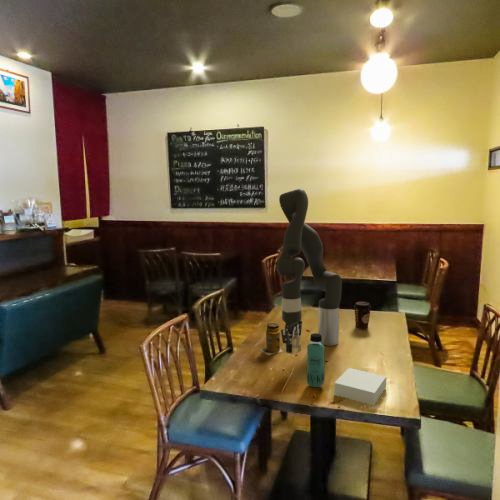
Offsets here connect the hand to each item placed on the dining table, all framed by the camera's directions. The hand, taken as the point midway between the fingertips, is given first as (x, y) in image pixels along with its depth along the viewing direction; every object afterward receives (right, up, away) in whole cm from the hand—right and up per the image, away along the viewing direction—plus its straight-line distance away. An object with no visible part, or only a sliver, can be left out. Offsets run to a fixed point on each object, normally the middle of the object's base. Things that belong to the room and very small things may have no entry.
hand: (292, 349), depth 165 cm
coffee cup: (+41, -1, +49) cm, 64 cm away
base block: (+23, -12, -16) cm, 30 cm away
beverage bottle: (+7, -11, -12) cm, 17 cm away
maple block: (0, -1, 0) cm, 1 cm away
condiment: (-7, -6, +22) cm, 24 cm away
